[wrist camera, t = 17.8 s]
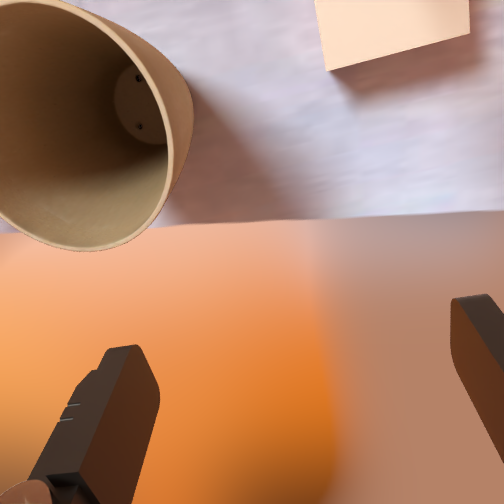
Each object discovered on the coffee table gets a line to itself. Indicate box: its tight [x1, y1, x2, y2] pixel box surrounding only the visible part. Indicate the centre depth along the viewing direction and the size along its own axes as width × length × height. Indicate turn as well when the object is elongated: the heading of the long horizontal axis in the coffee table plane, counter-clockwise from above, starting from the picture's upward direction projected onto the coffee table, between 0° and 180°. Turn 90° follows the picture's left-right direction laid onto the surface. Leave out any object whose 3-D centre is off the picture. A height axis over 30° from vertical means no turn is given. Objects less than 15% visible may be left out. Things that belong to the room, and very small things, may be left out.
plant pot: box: [0, 0, 194, 252], centre depth 32 cm, size 15×15×16 cm
